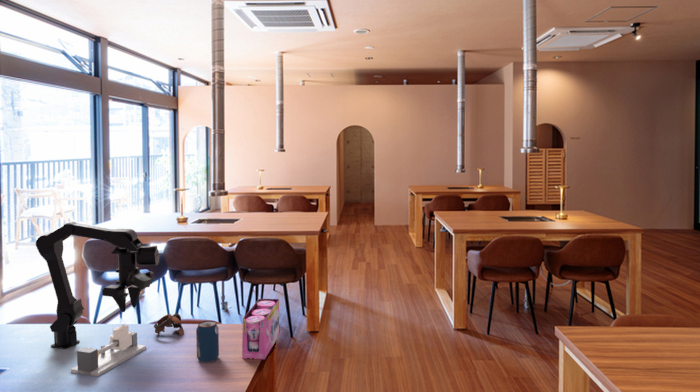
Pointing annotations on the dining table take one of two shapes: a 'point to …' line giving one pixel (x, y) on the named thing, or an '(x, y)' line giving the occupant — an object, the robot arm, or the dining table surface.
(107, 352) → the slider rail board
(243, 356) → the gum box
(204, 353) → the soda can
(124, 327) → the white slider block
